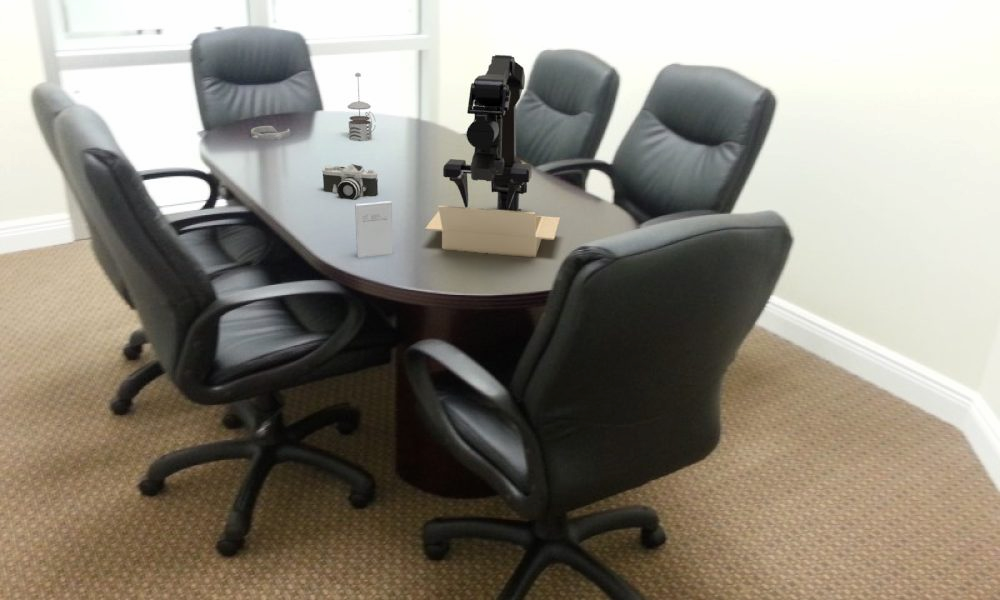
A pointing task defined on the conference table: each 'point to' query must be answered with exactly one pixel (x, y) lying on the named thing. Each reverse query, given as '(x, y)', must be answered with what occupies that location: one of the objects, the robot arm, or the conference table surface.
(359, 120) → the french press
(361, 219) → the hard drive
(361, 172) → the camera
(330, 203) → the conference table surface
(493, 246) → the carton
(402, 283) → the conference table surface
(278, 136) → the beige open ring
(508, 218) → the kraft flap
